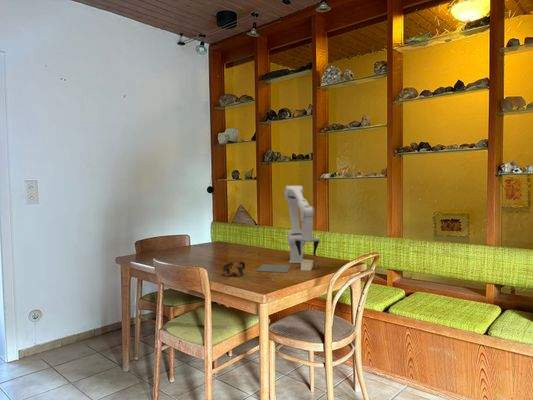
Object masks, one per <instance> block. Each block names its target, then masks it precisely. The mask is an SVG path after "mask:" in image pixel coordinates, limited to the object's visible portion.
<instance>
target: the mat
mask: <svg viewBox="0 0 533 400" xmlns="http://www.w3.org/2000/svg"><path fill="white" fill-rule="evenodd" d="M292 267H293V266H292V265H290V264H267V263H262V264H261V266H259V267H258V268H257V269H256V270H255V272H262V273H263V272H264V273H281V274H286V273H288V271H290V269H291V268H292Z"/></svg>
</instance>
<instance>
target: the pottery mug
mask: <svg viewBox="0 0 533 400" xmlns="http://www.w3.org/2000/svg"><path fill="white" fill-rule="evenodd" d="M233 267H234V268H236V269H237V271H236V272H235V275H236V278H238V277H240V276H243V275H244V274H243V273H244V272H243V271H244V270H245V268H246V263H245V262H244V261H239V262H238V261H236V260H232V261H230V262H229V263H227V264H225V265H224V266H222V269H223V270H222V272H224V273H225V272H226V273H227V274H229V273H231V270H232V269H233Z"/></svg>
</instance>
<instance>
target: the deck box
mask: <svg viewBox="0 0 533 400" xmlns="http://www.w3.org/2000/svg"><path fill="white" fill-rule="evenodd" d="M313 262H314V260H313V259H305V260H303V261H302V262H301V263H300V271H307V270H308V271H312V269H313V266H314V263H313Z"/></svg>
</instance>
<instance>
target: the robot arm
mask: <svg viewBox="0 0 533 400" xmlns="http://www.w3.org/2000/svg"><path fill="white" fill-rule="evenodd" d="M284 200H285V201H286V202H287V204H288V208H289V209H288V211H289V219H290V228H291V229H290V230H289V231H288V232H287V235H286V236H287V237H286V238H287V239H286V242H287V245H288V246H289V247H290V248H289V255H290V256H289V260H288V263H289V264H291V263H293V264H301V262H302V261H303V260H306V259H305V258H303V257H304V250H303V249H304V247H305V245H306V243H307V242H308V243H309V242H311V243H313V257H315V256H316V252H317V249H318V246H319V244H320V243H322V238H320V237H314V236H313V233H314V232H313V230H314V229H313V224H314V223H313V219H314V217H315V208H314V207H313V206H310V204H309V202H308V200H307V199H306V198H304V188H303V185H286V186H285V187H284ZM298 210H299V211H298ZM299 215H300V220H299ZM300 221H301V226H300ZM300 227H301V228H300Z"/></svg>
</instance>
